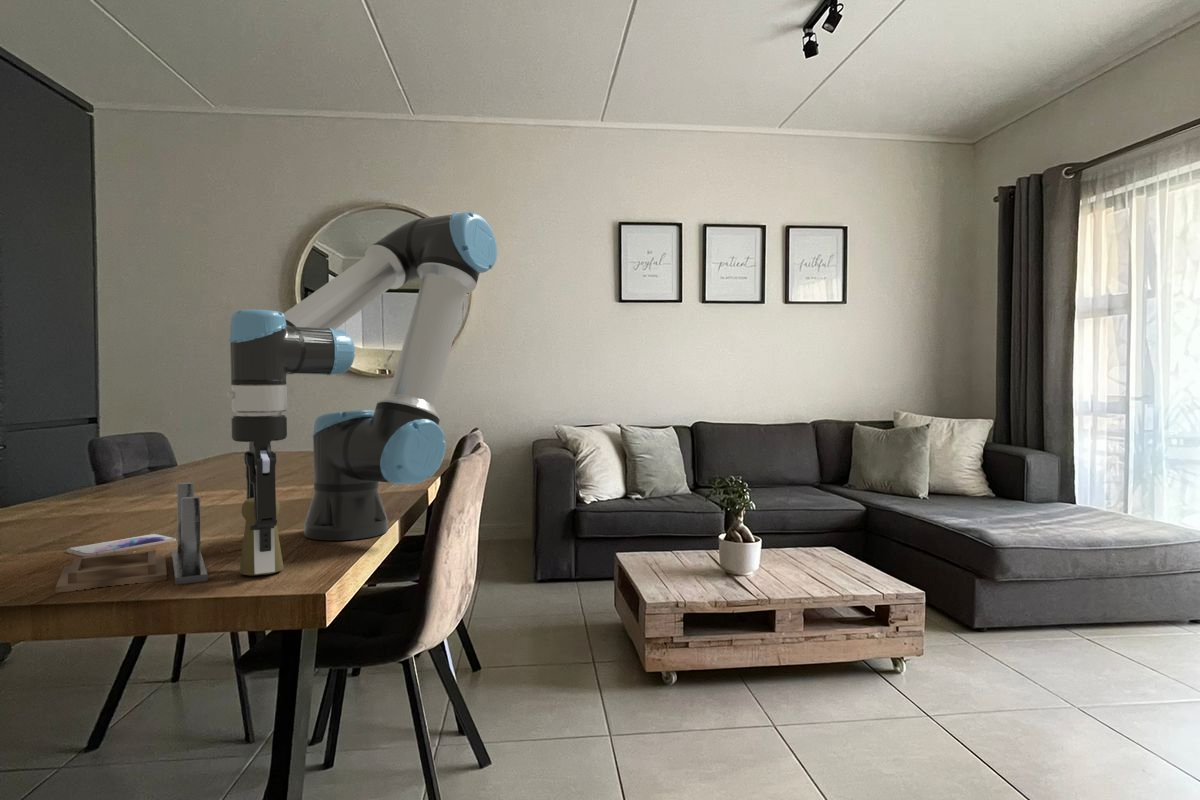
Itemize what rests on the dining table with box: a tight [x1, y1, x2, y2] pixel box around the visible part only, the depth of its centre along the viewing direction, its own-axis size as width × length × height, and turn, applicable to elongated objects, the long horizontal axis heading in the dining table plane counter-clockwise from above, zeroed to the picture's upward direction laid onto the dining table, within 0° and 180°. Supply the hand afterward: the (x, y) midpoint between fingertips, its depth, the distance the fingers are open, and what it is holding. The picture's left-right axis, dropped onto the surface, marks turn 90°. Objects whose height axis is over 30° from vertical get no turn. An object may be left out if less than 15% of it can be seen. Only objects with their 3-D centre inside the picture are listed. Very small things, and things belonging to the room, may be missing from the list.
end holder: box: [54, 549, 168, 594], centre depth 109 cm, size 13×13×2 cm
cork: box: [239, 498, 284, 576], centre depth 111 cm, size 6×6×11 cm
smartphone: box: [66, 533, 177, 557], centre depth 129 cm, size 7×1×15 cm
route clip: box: [171, 482, 209, 586], centre depth 113 cm, size 4×20×12 cm, turn 32°
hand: (261, 567), depth 111 cm, fingers closed on cork, 6 cm apart
